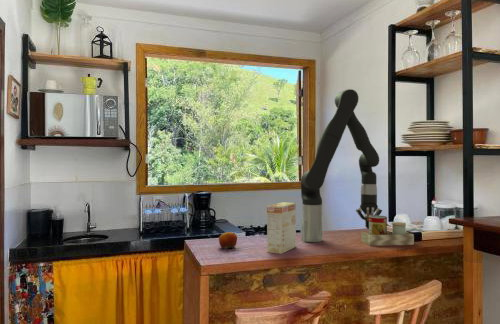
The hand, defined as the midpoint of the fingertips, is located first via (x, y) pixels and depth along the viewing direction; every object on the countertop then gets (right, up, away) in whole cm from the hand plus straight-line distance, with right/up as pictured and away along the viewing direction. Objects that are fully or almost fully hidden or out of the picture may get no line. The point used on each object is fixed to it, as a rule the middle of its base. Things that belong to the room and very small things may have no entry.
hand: (368, 228), depth 181 cm
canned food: (+1, -5, -10) cm, 11 cm away
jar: (+11, -5, -11) cm, 16 cm away
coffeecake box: (-45, -5, -23) cm, 50 cm away
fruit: (-68, -5, -19) cm, 71 cm away
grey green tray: (+5, -5, -11) cm, 13 cm away
